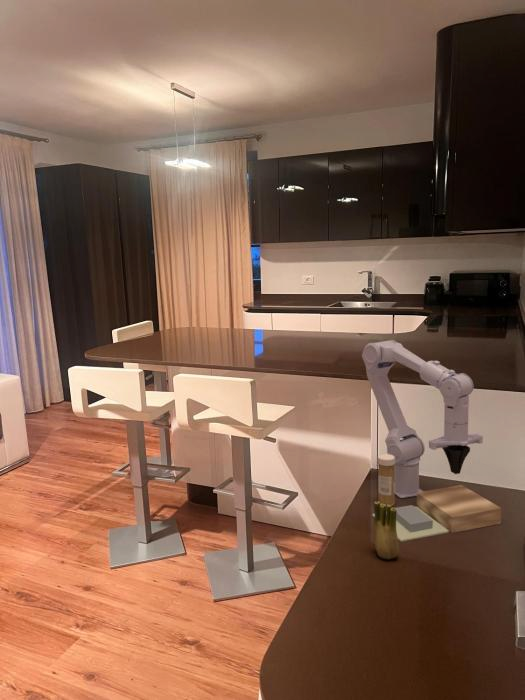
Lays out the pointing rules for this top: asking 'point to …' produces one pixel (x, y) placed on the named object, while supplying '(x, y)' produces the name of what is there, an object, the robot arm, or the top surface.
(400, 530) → the mat
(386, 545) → the fennel bulb
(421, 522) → the grey rectangular block
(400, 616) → the top surface
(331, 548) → the top surface
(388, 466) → the sprinkles bottle
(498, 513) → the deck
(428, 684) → the top surface
